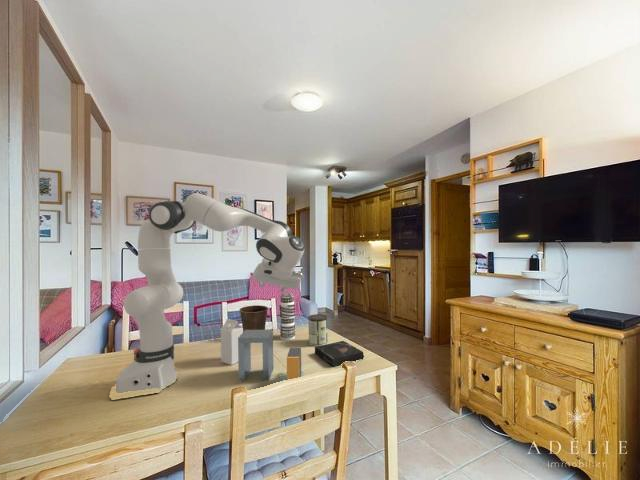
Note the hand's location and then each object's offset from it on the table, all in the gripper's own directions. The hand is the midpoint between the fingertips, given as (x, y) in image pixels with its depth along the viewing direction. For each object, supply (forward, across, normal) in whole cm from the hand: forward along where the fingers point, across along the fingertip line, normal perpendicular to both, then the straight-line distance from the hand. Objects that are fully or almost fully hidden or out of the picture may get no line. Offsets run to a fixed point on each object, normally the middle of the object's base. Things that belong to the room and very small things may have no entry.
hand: (271, 288), depth 126 cm
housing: (+21, -2, +29) cm, 36 cm away
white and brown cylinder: (+44, -24, -3) cm, 50 cm away
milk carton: (+36, +6, +18) cm, 40 cm away
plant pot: (+54, -8, -7) cm, 55 cm away
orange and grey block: (+11, -15, +33) cm, 38 cm away
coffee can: (+31, -37, +4) cm, 48 cm away
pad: (+11, -15, +33) cm, 38 cm away
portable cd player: (+16, -40, +19) cm, 47 cm away
